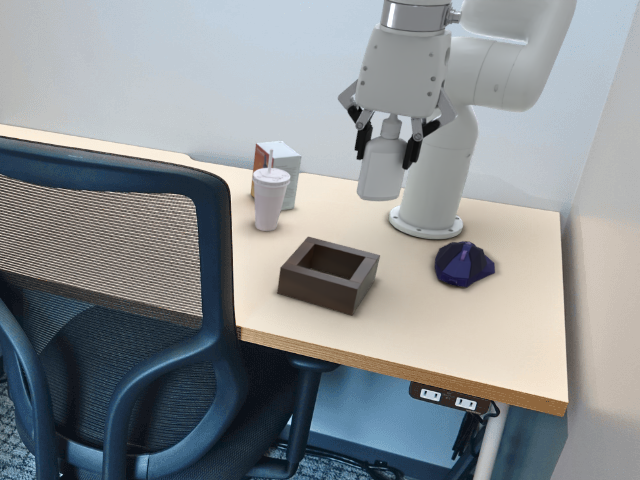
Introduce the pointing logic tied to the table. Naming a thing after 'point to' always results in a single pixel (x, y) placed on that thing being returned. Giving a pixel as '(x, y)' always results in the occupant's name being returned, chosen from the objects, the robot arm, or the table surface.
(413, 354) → the table surface
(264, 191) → the smoothie
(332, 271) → the holder
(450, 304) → the table surface
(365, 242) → the table surface
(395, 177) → the eye dropper bottle
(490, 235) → the table surface
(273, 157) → the small box
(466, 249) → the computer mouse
